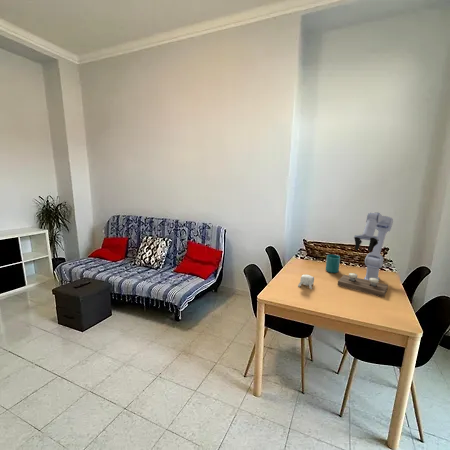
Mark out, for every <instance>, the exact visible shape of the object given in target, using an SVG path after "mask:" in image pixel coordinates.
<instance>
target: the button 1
mask: <svg viewBox="0 0 450 450" xmlns="http://www.w3.org/2000/svg"><path fill="white" fill-rule="evenodd" d="M348 276H349V277H350V281H352V282H355V278H358V274H357V273H352V272H349V273H348Z"/></svg>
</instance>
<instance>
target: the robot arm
mask: <svg viewBox="0 0 450 450" xmlns="http://www.w3.org/2000/svg"><path fill="white" fill-rule="evenodd" d="M366 216H367V217H366V221H365V226H364V229H363V232H362V234H357V235H356V234H355V235H354V237H353V239H354V245H355V248H354V249H355V250H356V251H358V250H359V248H360V246H361V244H362V243H363V241H362V240H366V241H369V245H368V248H367V250H368V252H369V253H367V254H366V256H365V258H364V264H365V266H366V274H365V276H364V278H363V279H365V280H369V279H370V278H376V279H378V280H379V281H380V277H379V274H380V273H379V272H380V269H381V268H382V267H383V264H384V256H383V255H382V254H381V252H382V249H383V245H384V241H385V239H386V237H387V236H386V235H387V233H388V232H390V231H391V230H392V227H393V224H394V219H393V217H390V216H387V215H383V214H381V212H379V211H378V212H369V213H368V214H367V215H366ZM376 231H377V235H375V233H376Z"/></svg>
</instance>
